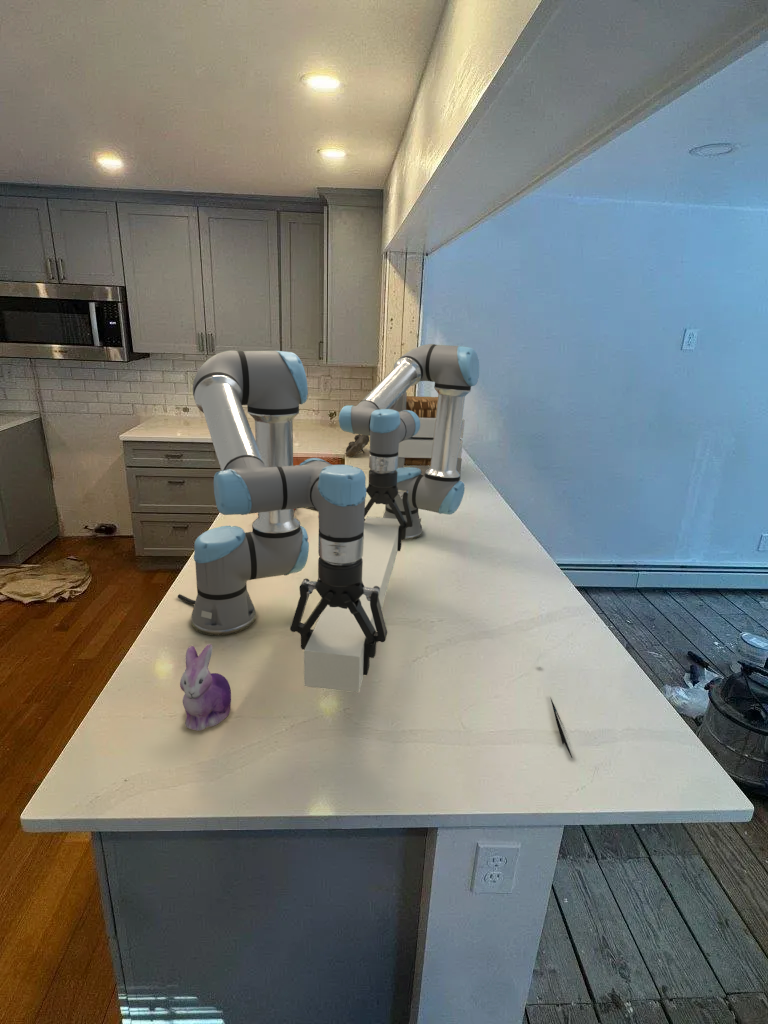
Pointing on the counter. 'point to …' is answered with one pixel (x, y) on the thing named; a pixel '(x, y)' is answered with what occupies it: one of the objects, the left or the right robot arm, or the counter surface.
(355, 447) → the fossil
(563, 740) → the feather
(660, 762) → the counter surface
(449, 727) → the counter surface
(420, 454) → the white slatted box
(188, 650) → the figurine
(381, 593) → the thick board
